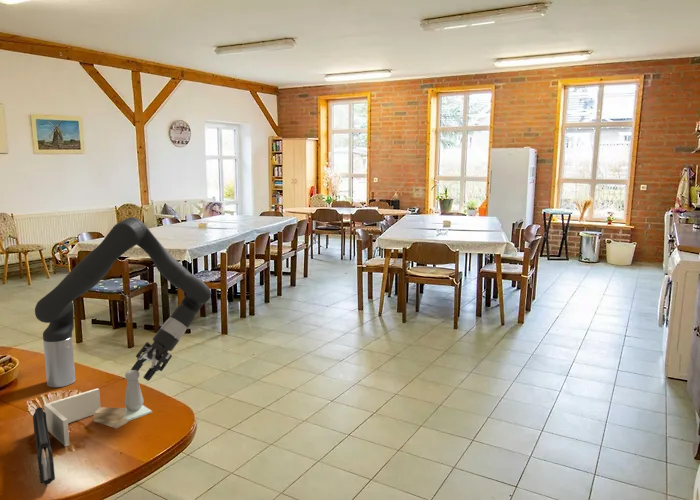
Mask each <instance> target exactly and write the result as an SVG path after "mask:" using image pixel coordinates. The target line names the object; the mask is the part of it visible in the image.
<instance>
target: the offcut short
mask: <svg viewBox="0 0 700 500" xmlns="http://www.w3.org/2000/svg"><path fill="white" fill-rule="evenodd" d="M125 408H126V407H104V406H103V407H102V406H101V407H100V408H99V409H98V410H97V411H96V412H94V415H93V416H95V419H103V420H120V419H121V418H122V417H123V416H124V415H125Z"/></svg>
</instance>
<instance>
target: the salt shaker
mask: <svg viewBox="0 0 700 500" xmlns="http://www.w3.org/2000/svg"><path fill="white" fill-rule="evenodd" d="M124 374H125V375H124V378H125V380H127V383H126V389H125V396H124V406H125V408H127V410H128V411H132V412H133V411H137V410H139V409H140V408H141V407H142V405H144V401H145V400H144V397H143V394H142V393H143V392H142V390H141V387H140V382H139V378H140V376H141V375H140V372H139V371H137V370H131V369H130V370H128V371H126V372H125V373H124Z"/></svg>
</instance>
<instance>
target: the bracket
mask: <svg viewBox="0 0 700 500" xmlns="http://www.w3.org/2000/svg"><path fill="white" fill-rule="evenodd" d="M100 407H102V405H101V392H100V388H94V389H91V390H87V391H83V392H81V393H76V394H74V395H71V396H68V397H65V398H61V399H57V400H54V401H51V402H47V403H45V404H43V408H44V409H43V410H44V412H45V413H46V421H47V428H48V433H49V434H51V435H52V436H53V437H54V438H55V439H56V440H57V441H59V443H61V444H62V445H63V446H64V447H65V448H66V447H68V446H70V433H69V424H70V423H73V422H76V421H79V420H82V419H85V418H87V417H90V416H91V417H92V416H95V415H94V412H96V411H97V410H98V409H99V408H100Z"/></svg>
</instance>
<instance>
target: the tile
mask: <svg viewBox="0 0 700 500" xmlns="http://www.w3.org/2000/svg"><path fill="white" fill-rule="evenodd" d="M124 408H125V415H124V416H123V417H124V418H127V423H128V422H130V421H133V420H135V419H138V418H141V417H145V416H146V415H149V414H152V413H153V410H151V409H150V408H149V407H147V406H146V405H144V404H142V407H141V408H140V409H139V410H137V411H133V412H132V411H128V410H127V408H126V407H124Z"/></svg>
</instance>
